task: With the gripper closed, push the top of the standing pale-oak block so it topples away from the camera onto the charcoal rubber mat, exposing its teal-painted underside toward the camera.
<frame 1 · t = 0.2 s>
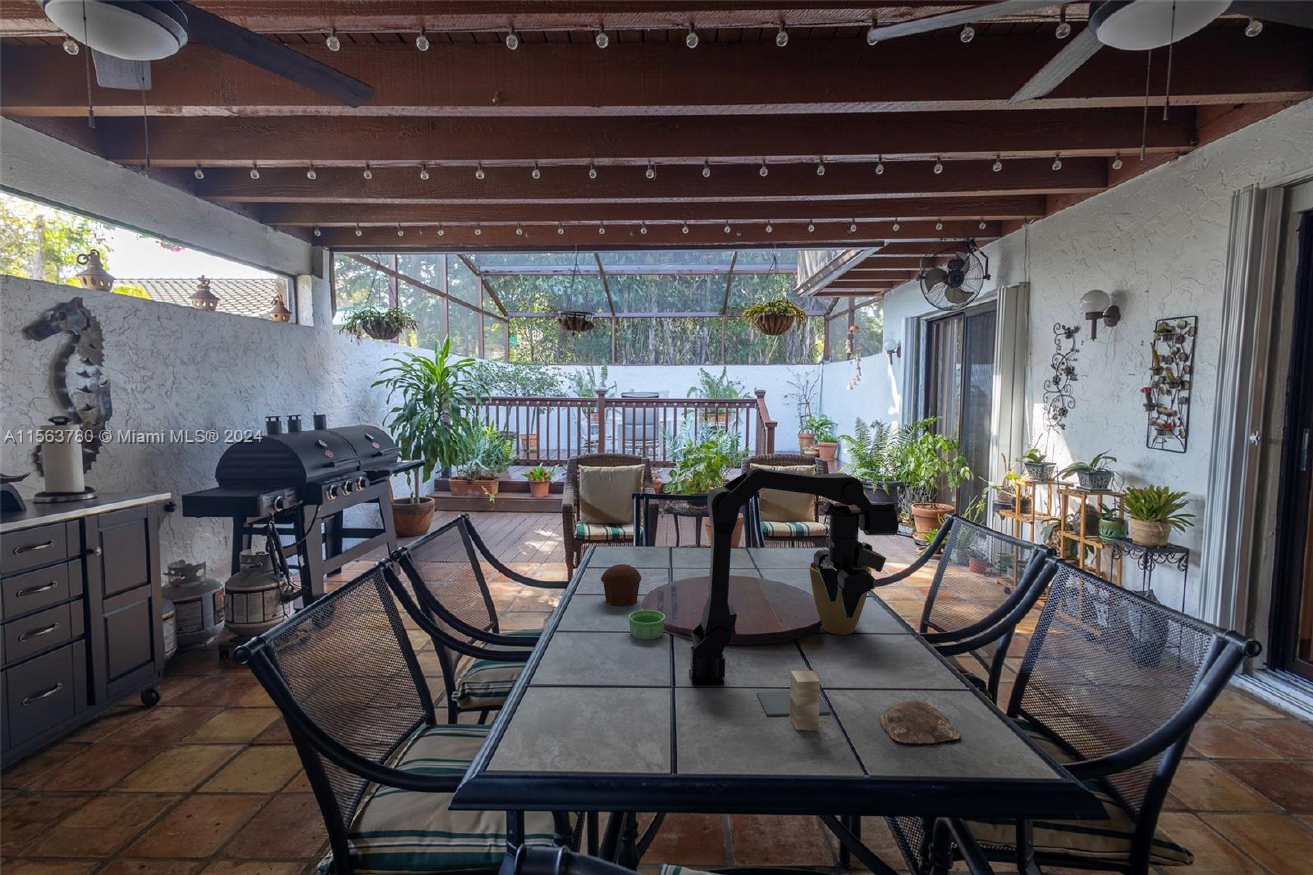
hand: (840, 609, 127), 15 cm above the table, fingers open, 9 cm apart
ramekin: (646, 634, 150), on the table
mat: (792, 703, 117), on the table
oak block: (803, 724, 110), on the table
plant pot: (837, 629, 153), on the table
muffin: (621, 601, 172), on the table
shell: (916, 730, 109), on the table
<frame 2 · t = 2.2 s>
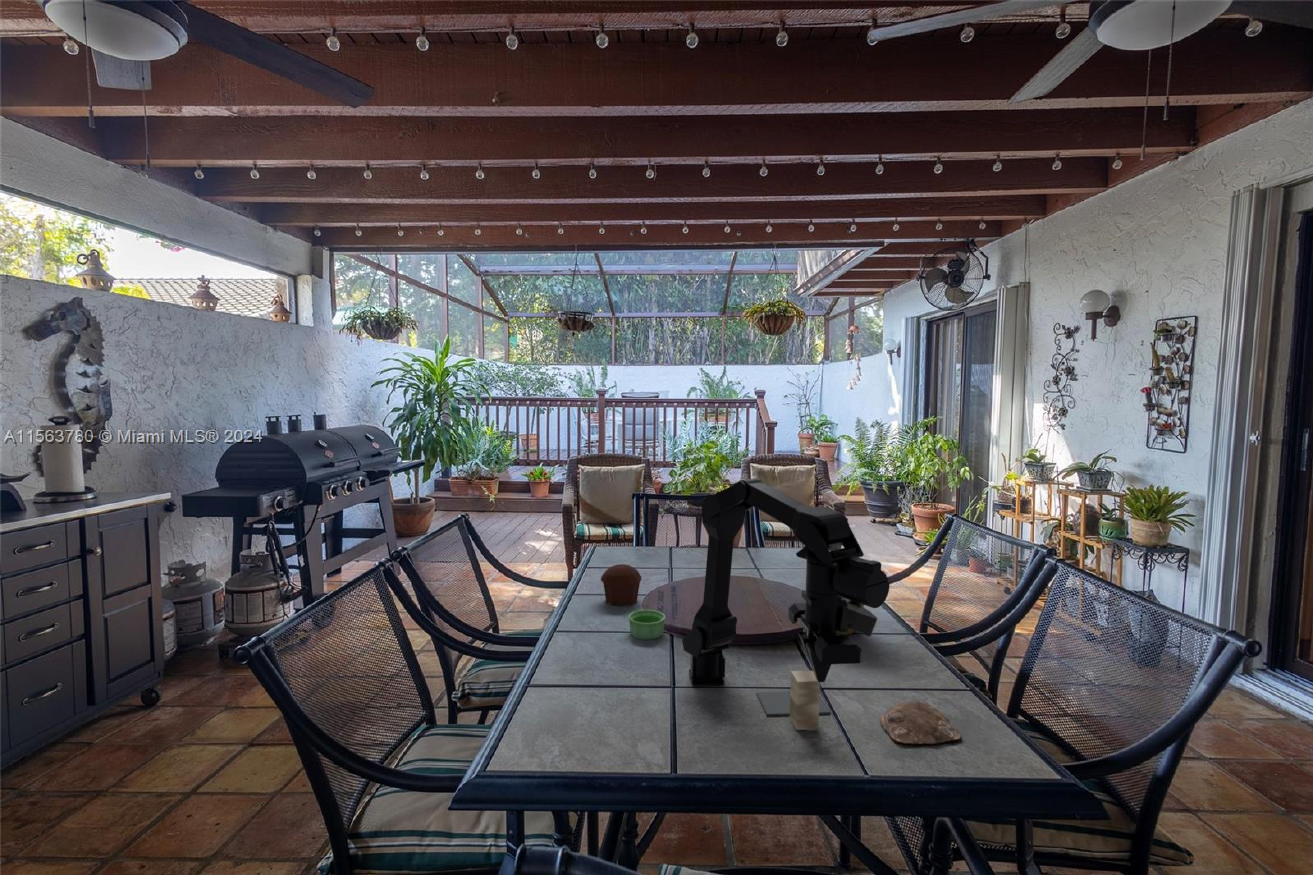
hand: (820, 681, 101), 12 cm above the table, fingers closed
nothing on the table moved.
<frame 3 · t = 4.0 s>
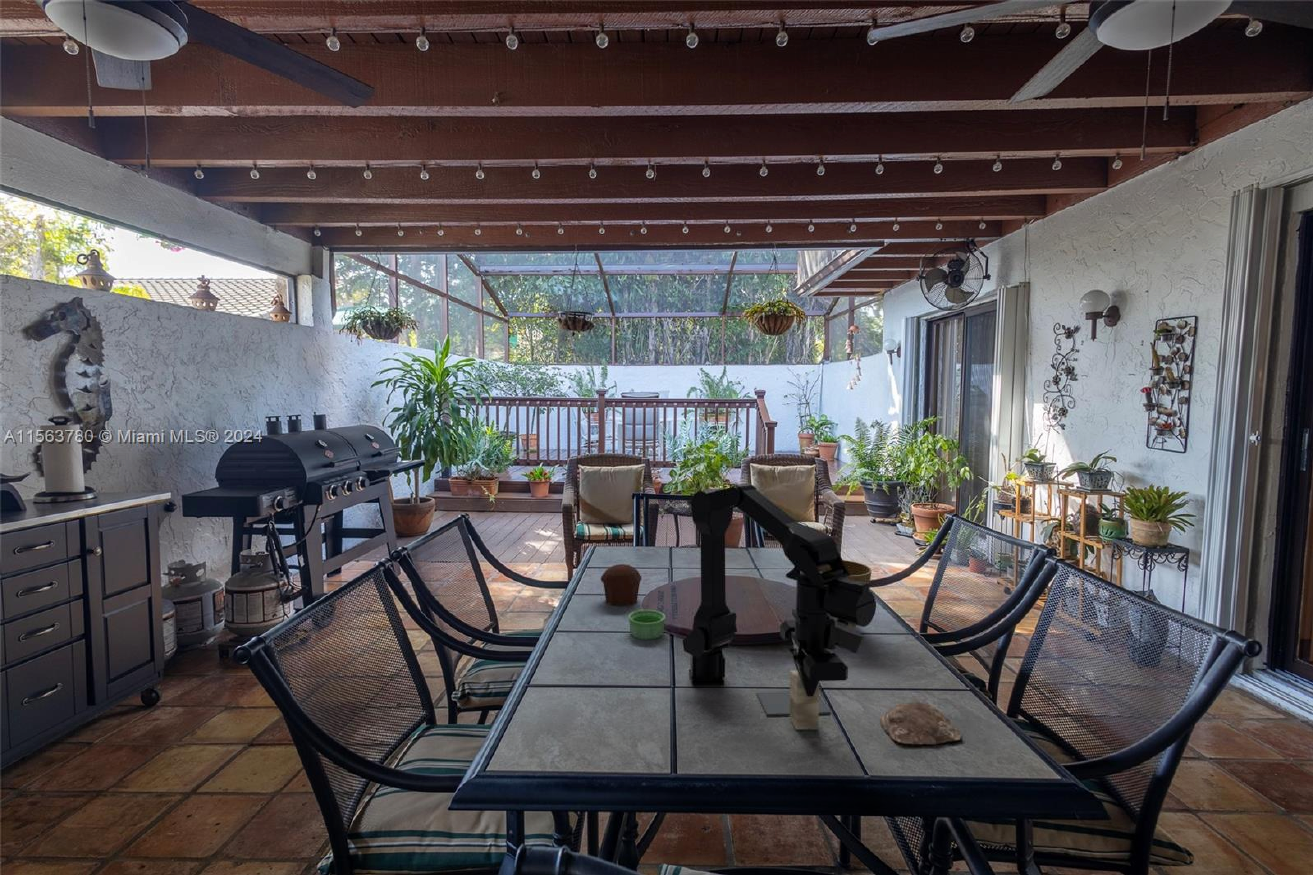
hand: (809, 695, 106), 7 cm above the table, fingers closed
oak block: (803, 724, 110), on the table, touching gripper
everything else where it was.
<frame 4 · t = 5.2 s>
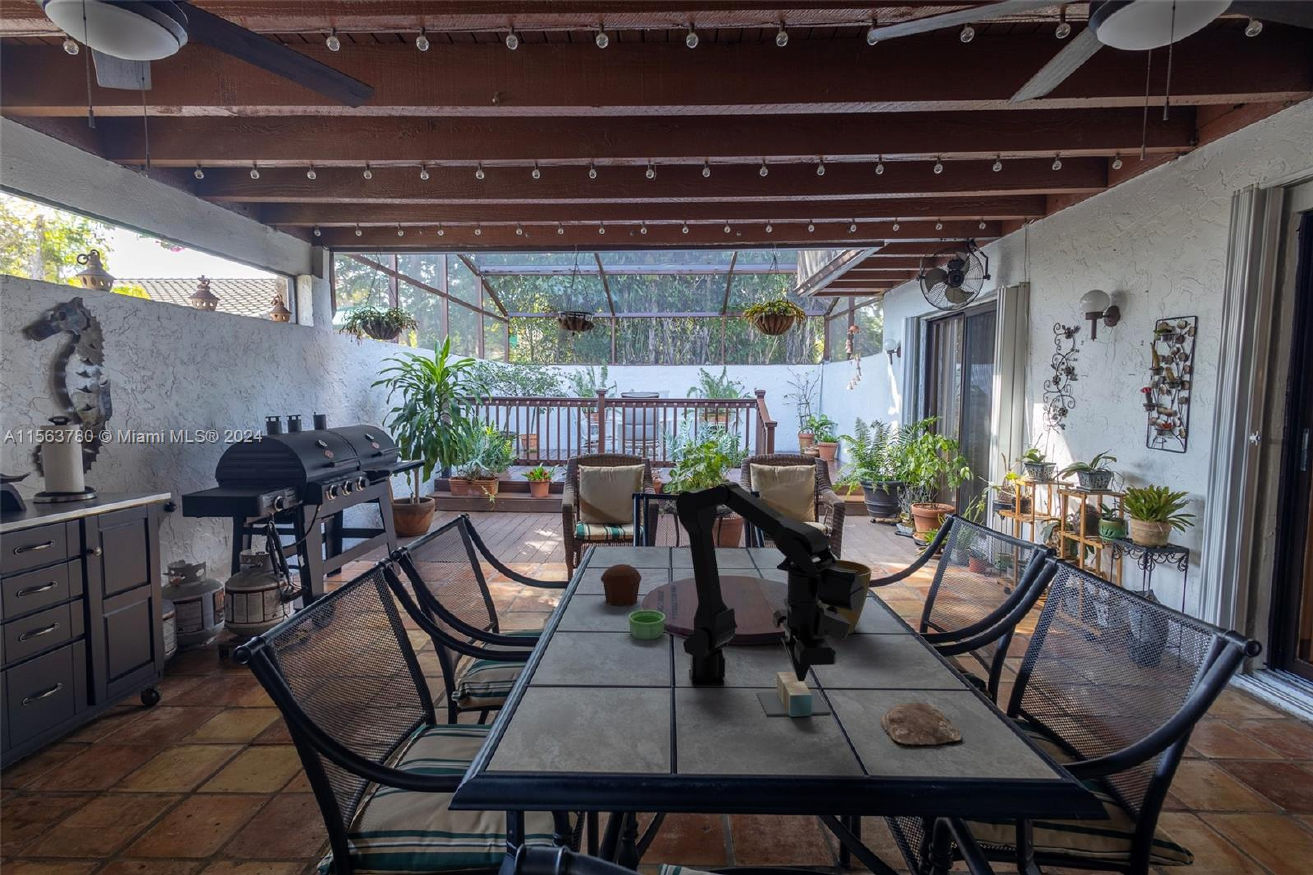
hand: (800, 680, 112), 7 cm above the table, fingers closed
oak block: (800, 705, 112), point 2 cm above the table, tilted 90°, touching mat
everything else where it was.
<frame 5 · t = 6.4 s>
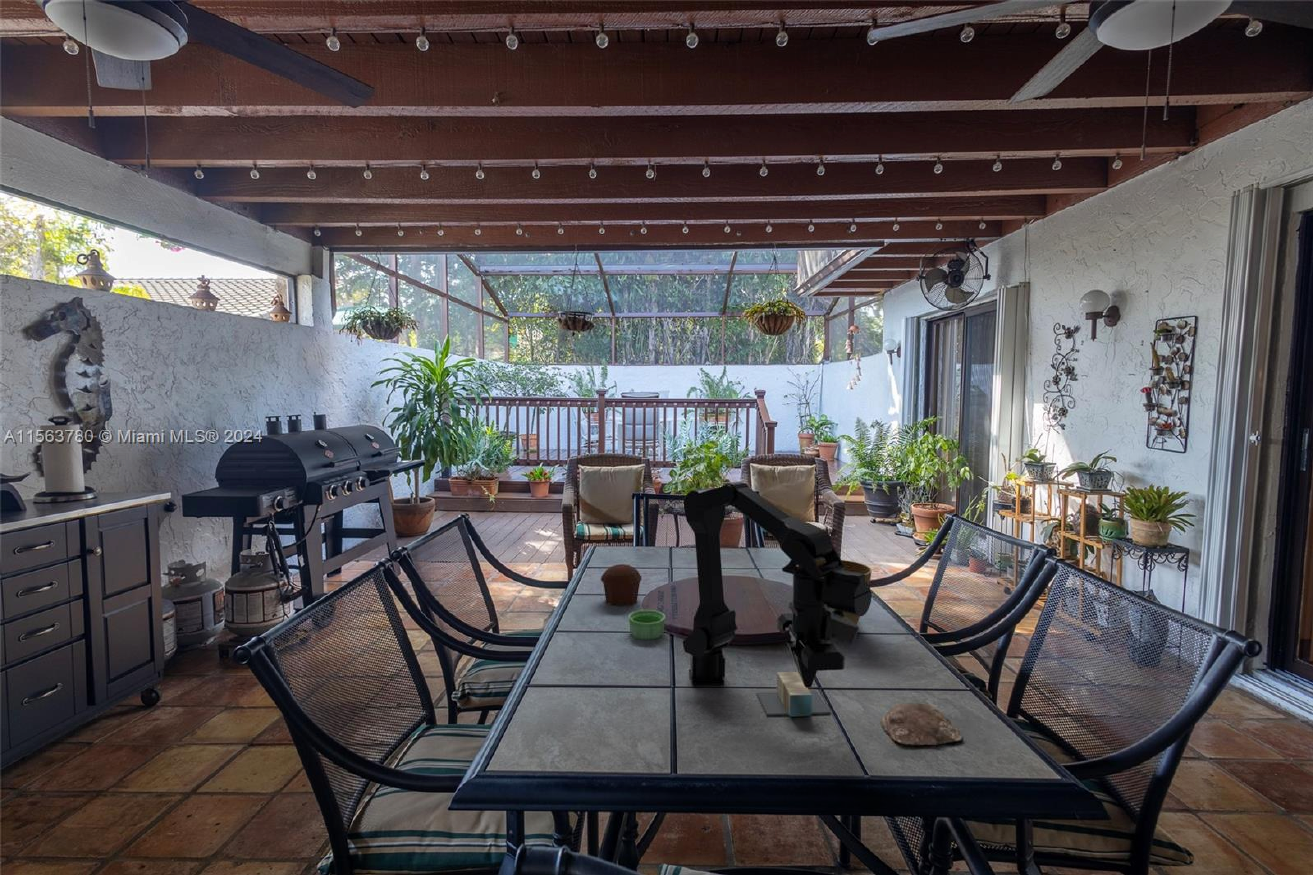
hand: (807, 686, 109), 7 cm above the table, fingers closed
nothing on the table moved.
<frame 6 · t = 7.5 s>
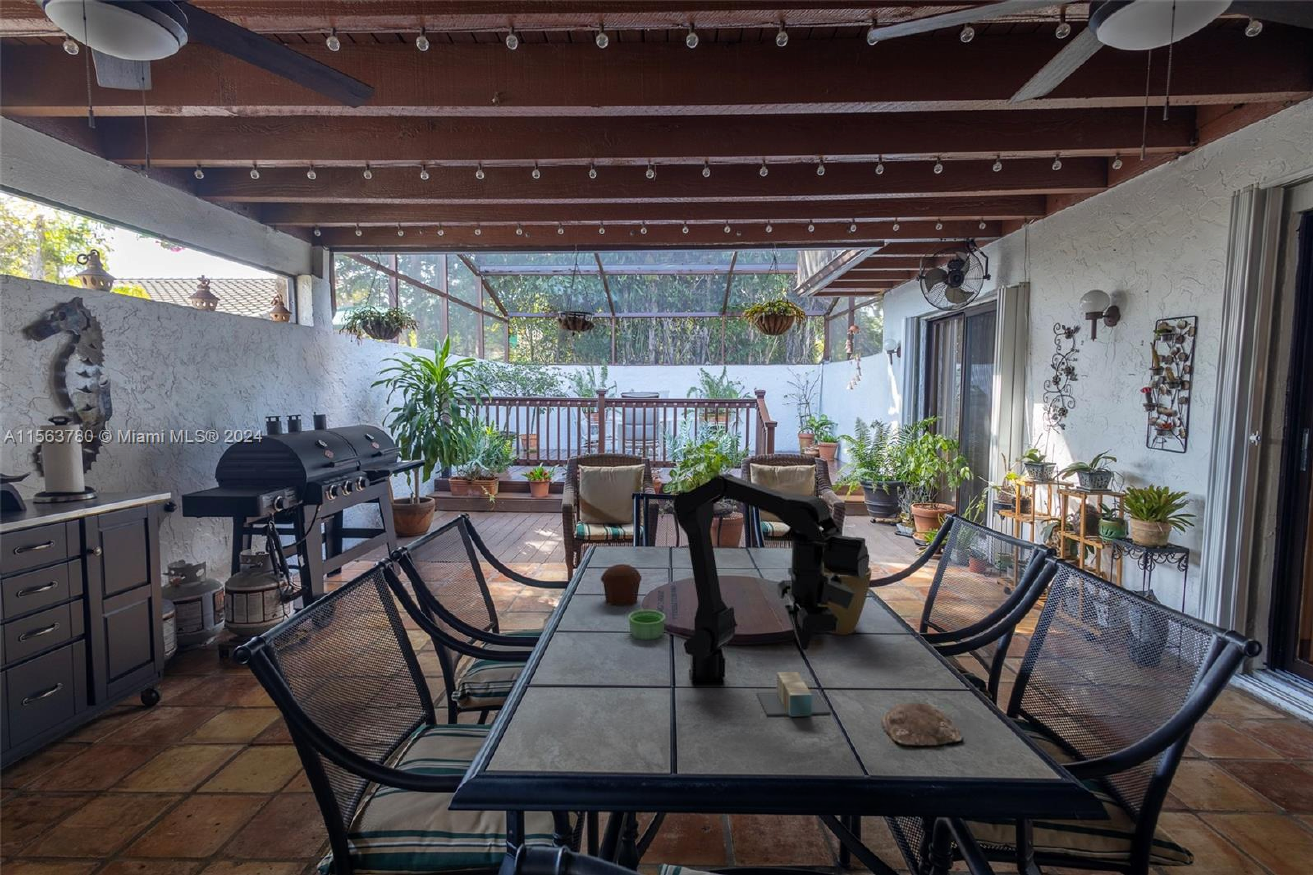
hand: (803, 648, 113), 12 cm above the table, fingers closed
nothing on the table moved.
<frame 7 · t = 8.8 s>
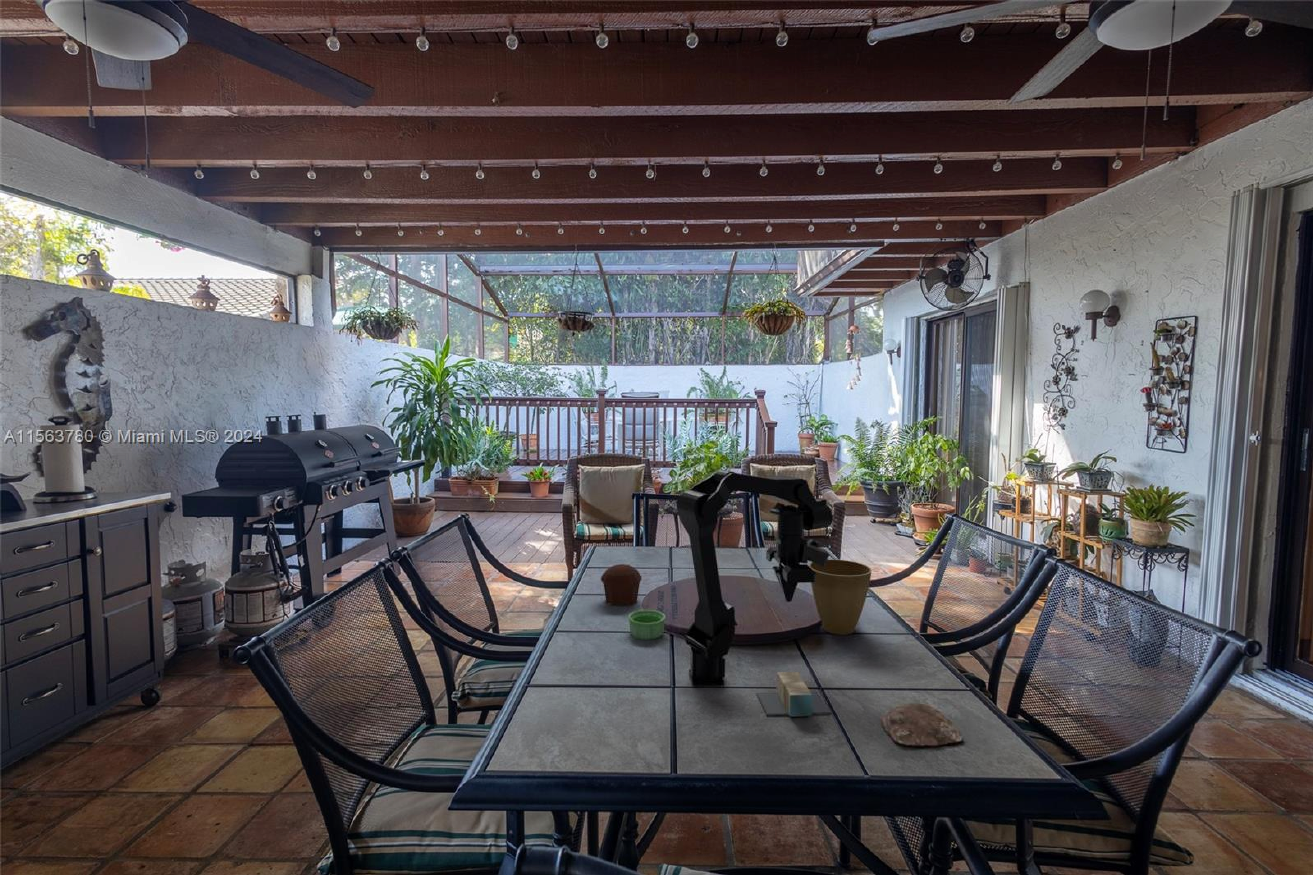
hand: (788, 601, 137), 13 cm above the table, fingers closed
nothing on the table moved.
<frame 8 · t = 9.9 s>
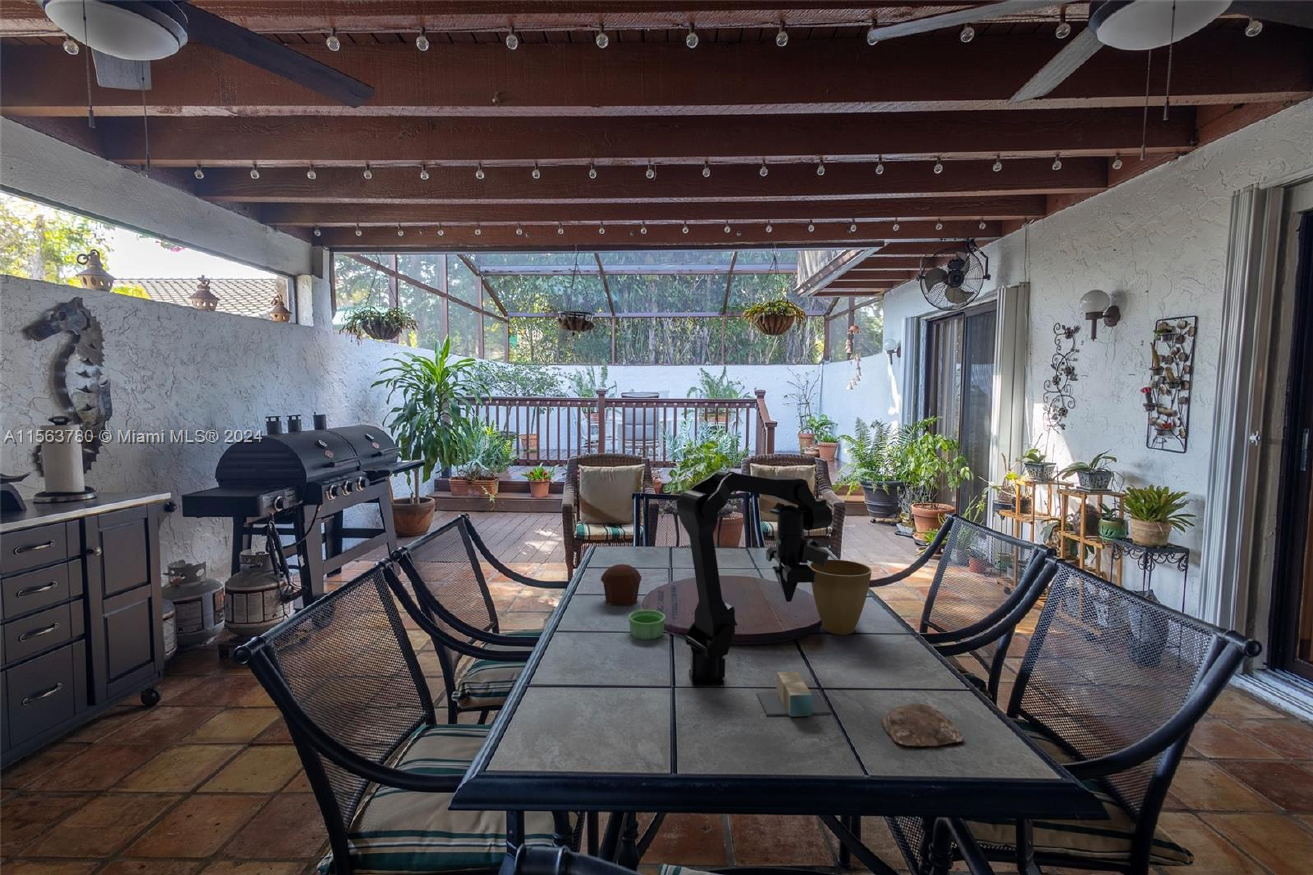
hand: (788, 601, 137), 12 cm above the table, fingers closed
nothing on the table moved.
at the end: oak block tilted 90°; oak block inside the target area (2.1 cm from its centre), point 2.4 cm above the table; the gripper is holding nothing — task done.
